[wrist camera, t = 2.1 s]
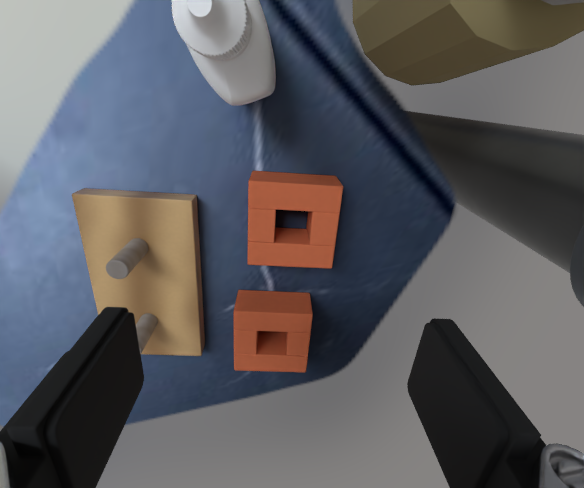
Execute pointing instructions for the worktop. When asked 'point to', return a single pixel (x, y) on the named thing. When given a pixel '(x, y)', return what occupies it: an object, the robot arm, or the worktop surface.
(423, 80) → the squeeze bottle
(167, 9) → the worktop surface
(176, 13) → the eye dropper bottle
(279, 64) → the worktop surface
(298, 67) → the worktop surface
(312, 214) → the pad
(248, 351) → the orange square ring block
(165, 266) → the base board
